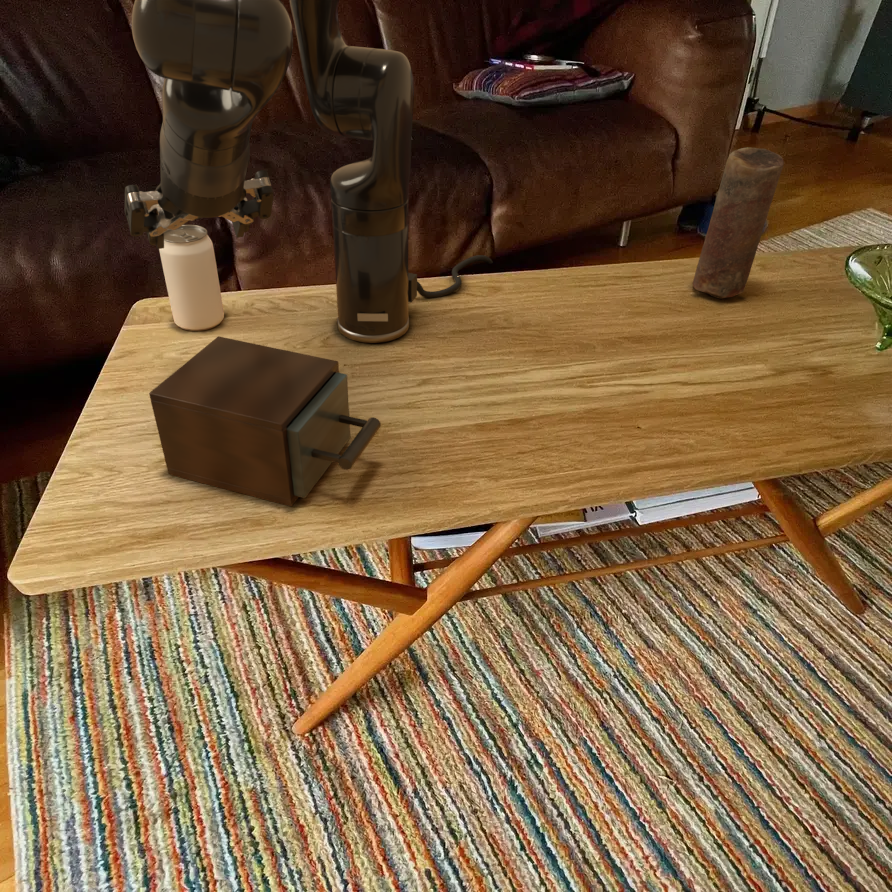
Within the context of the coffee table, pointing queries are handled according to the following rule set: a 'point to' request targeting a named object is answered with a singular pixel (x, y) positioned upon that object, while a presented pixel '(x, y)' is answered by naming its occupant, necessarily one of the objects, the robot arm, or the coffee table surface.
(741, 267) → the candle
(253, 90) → the robot arm
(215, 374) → the cabinet
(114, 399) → the coffee table surface
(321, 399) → the drawer
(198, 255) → the can
